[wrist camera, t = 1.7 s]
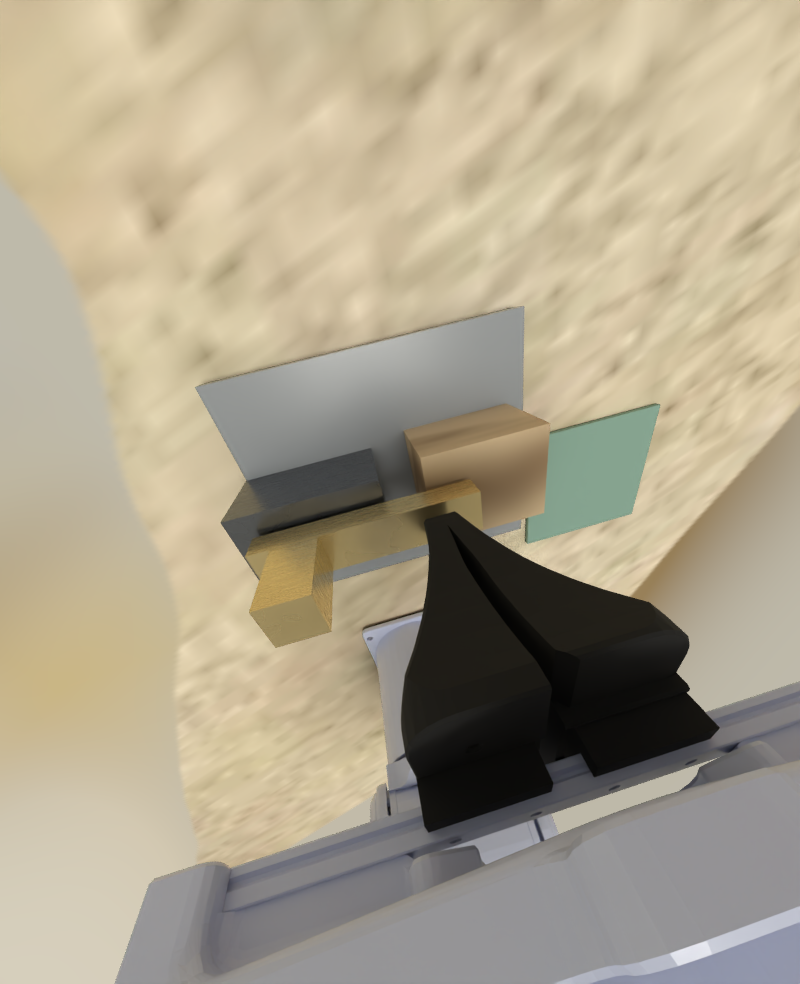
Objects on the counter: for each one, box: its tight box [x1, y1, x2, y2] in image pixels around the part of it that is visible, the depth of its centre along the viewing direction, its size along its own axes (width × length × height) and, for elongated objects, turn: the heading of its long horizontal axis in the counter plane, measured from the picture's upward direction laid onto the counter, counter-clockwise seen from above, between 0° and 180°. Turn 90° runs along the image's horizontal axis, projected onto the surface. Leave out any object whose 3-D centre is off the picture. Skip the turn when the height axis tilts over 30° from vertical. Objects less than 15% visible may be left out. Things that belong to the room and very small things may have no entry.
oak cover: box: [403, 403, 550, 531], centre depth 16 cm, size 5×6×4 cm
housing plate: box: [195, 306, 524, 582], centre depth 16 cm, size 14×16×5 cm
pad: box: [525, 404, 660, 544], centre depth 21 cm, size 9×9×1 cm
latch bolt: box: [245, 479, 483, 648], centre depth 12 cm, size 2×10×4 cm, turn 102°
